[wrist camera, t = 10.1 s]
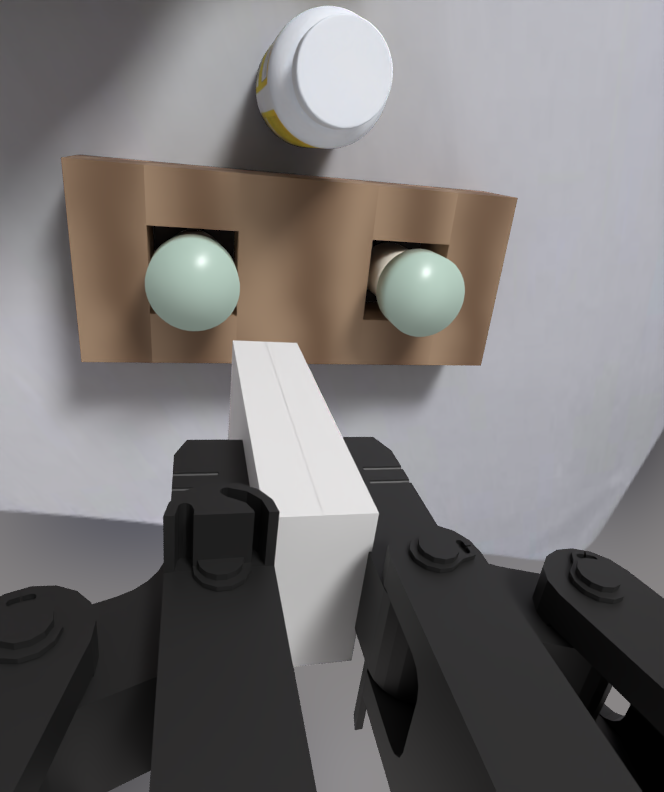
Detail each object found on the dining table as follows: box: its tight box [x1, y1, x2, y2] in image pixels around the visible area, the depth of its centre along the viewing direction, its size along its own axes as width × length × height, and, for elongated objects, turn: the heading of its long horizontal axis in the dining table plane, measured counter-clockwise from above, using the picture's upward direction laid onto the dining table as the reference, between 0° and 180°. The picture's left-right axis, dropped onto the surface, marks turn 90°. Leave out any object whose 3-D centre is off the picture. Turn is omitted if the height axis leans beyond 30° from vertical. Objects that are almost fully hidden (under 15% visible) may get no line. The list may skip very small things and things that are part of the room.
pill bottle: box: [256, 6, 393, 149], centre depth 30 cm, size 6×6×12 cm
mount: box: [61, 155, 518, 365], centre depth 38 cm, size 28×12×5 cm, turn 85°
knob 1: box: [145, 229, 240, 331], centre depth 34 cm, size 5×5×8 cm
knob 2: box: [367, 242, 465, 337], centre depth 38 cm, size 5×5×8 cm
